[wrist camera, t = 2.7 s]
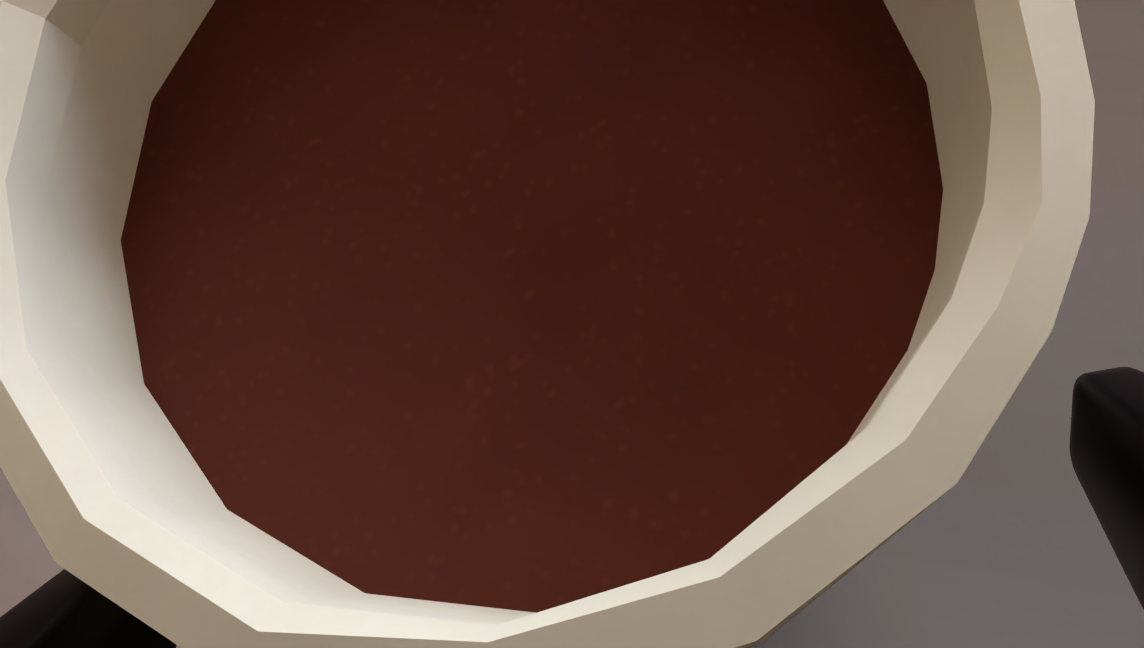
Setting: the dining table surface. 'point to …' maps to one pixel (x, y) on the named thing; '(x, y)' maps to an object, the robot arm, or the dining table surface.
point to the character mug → (517, 301)
